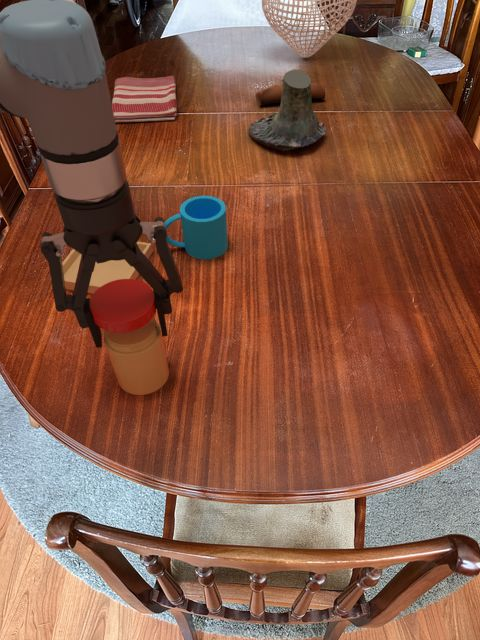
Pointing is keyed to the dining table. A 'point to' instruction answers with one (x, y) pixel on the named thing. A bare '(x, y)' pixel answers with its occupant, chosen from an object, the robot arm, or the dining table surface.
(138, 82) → the dish towel
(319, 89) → the sunglasses case
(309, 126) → the tree stump
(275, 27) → the heart
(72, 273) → the tray
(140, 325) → the lid
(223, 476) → the dining table surface
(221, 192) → the dining table surface
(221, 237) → the mug
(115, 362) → the jar
